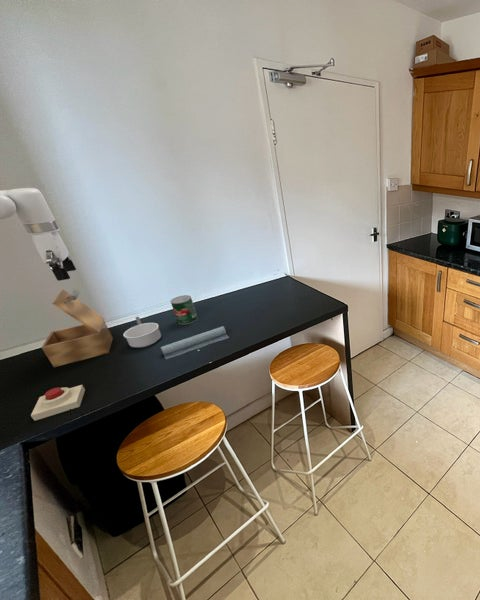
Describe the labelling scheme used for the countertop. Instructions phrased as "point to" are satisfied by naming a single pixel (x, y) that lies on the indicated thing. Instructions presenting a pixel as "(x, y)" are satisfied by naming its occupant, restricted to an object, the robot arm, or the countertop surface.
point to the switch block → (58, 403)
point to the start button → (53, 393)
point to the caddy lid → (78, 310)
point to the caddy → (76, 344)
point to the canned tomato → (184, 309)
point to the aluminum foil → (194, 342)
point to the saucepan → (142, 334)
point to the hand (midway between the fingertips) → (67, 275)
